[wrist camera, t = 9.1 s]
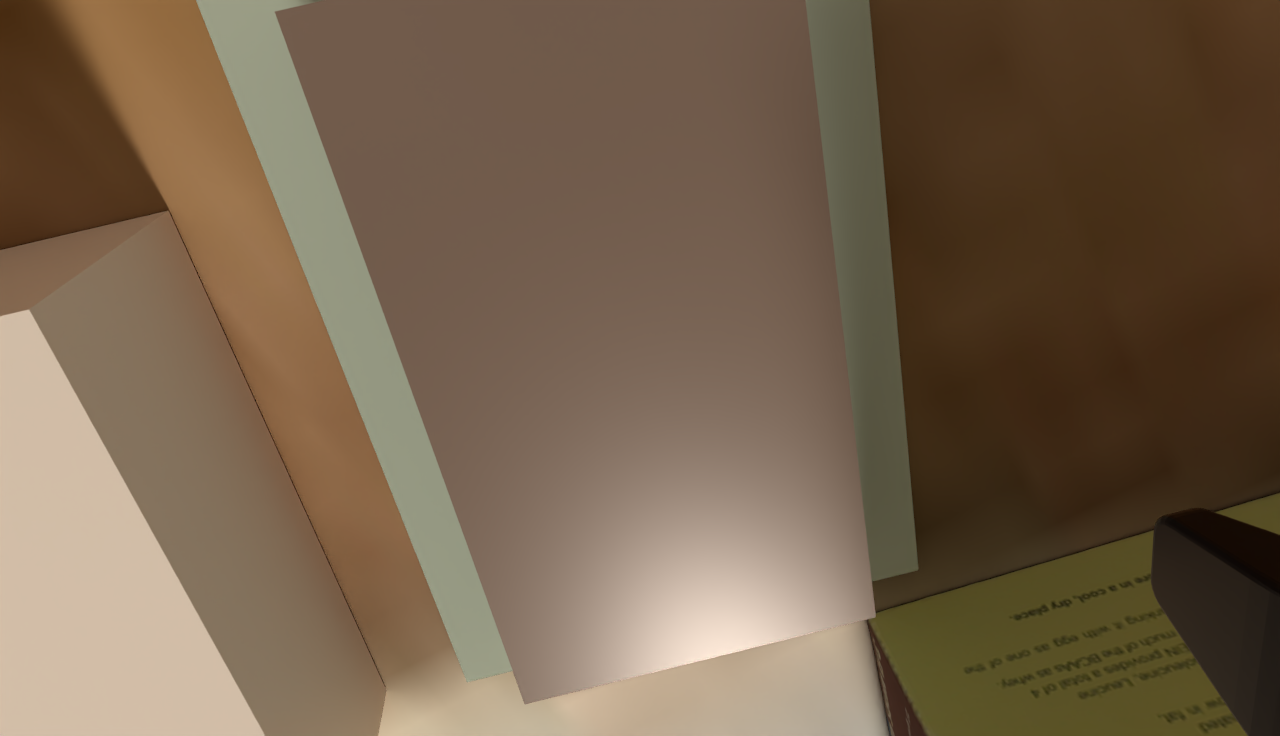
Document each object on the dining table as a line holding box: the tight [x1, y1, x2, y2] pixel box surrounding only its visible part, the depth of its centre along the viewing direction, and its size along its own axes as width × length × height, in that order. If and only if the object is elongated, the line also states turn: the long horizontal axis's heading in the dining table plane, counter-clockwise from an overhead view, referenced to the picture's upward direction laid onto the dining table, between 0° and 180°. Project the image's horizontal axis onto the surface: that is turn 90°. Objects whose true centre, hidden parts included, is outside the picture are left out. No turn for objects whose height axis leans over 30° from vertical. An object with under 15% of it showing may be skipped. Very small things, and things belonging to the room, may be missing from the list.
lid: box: [275, 0, 876, 704], centre depth 16 cm, size 7×13×2 cm, turn 11°
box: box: [0, 211, 386, 736], centre depth 16 cm, size 6×12×5 cm, turn 12°
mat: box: [196, 0, 918, 682], centre depth 18 cm, size 11×16×1 cm
